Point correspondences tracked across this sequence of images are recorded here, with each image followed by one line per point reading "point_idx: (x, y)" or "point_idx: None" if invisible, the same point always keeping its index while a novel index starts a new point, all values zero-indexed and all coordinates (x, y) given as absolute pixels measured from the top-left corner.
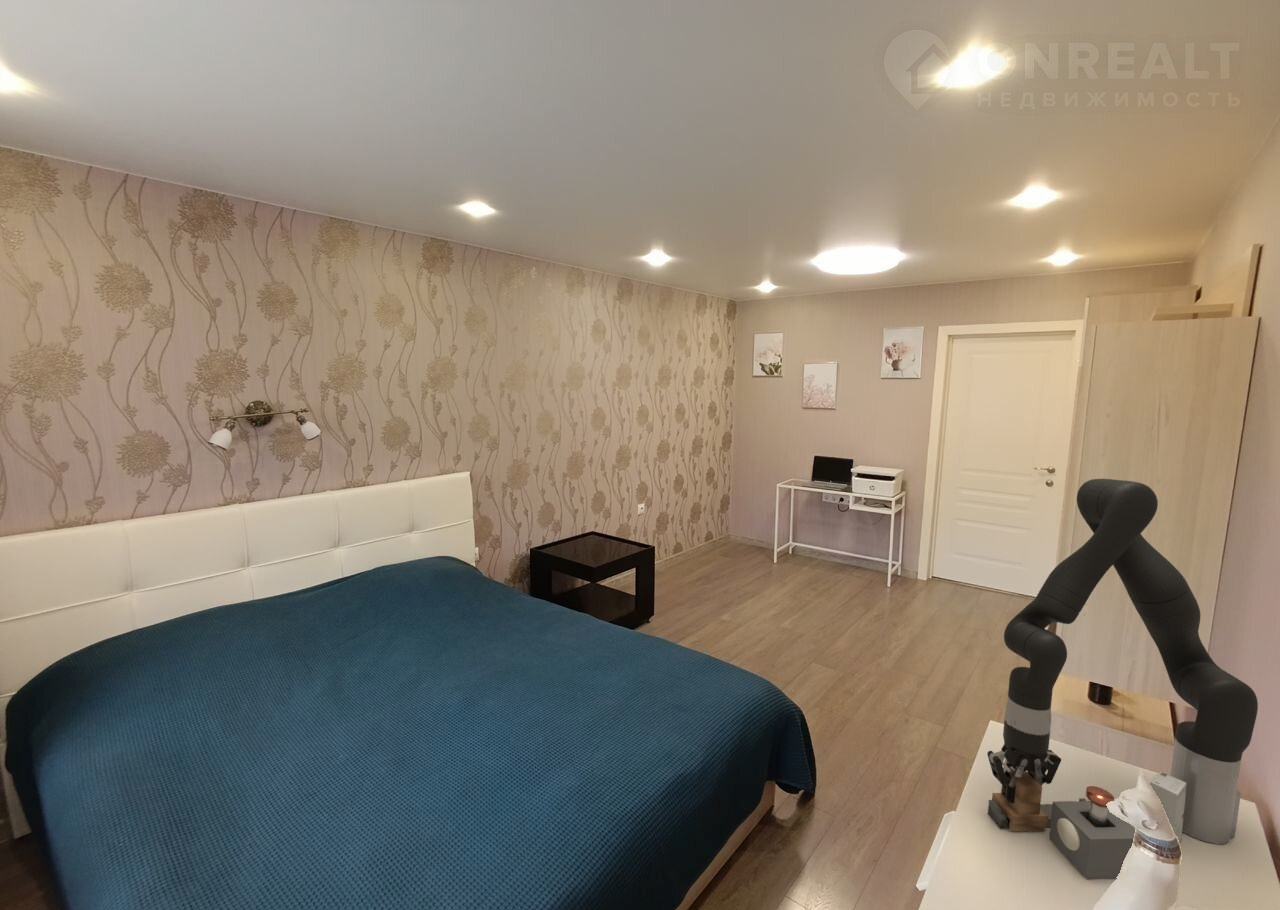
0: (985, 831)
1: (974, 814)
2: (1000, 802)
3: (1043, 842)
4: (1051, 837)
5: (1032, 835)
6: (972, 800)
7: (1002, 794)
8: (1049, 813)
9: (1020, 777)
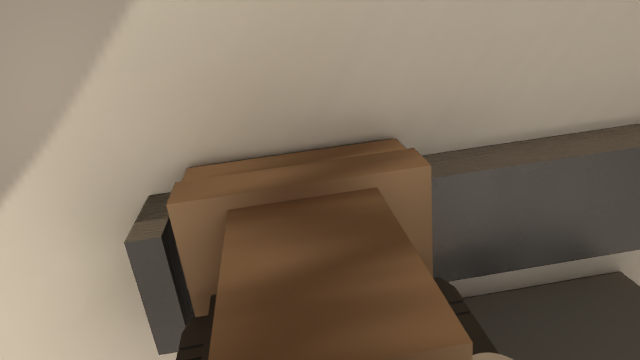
0: (88, 316)
1: (65, 209)
2: (188, 283)
3: None
4: None
5: None
6: (90, 86)
7: (190, 322)
8: (484, 238)
9: None
